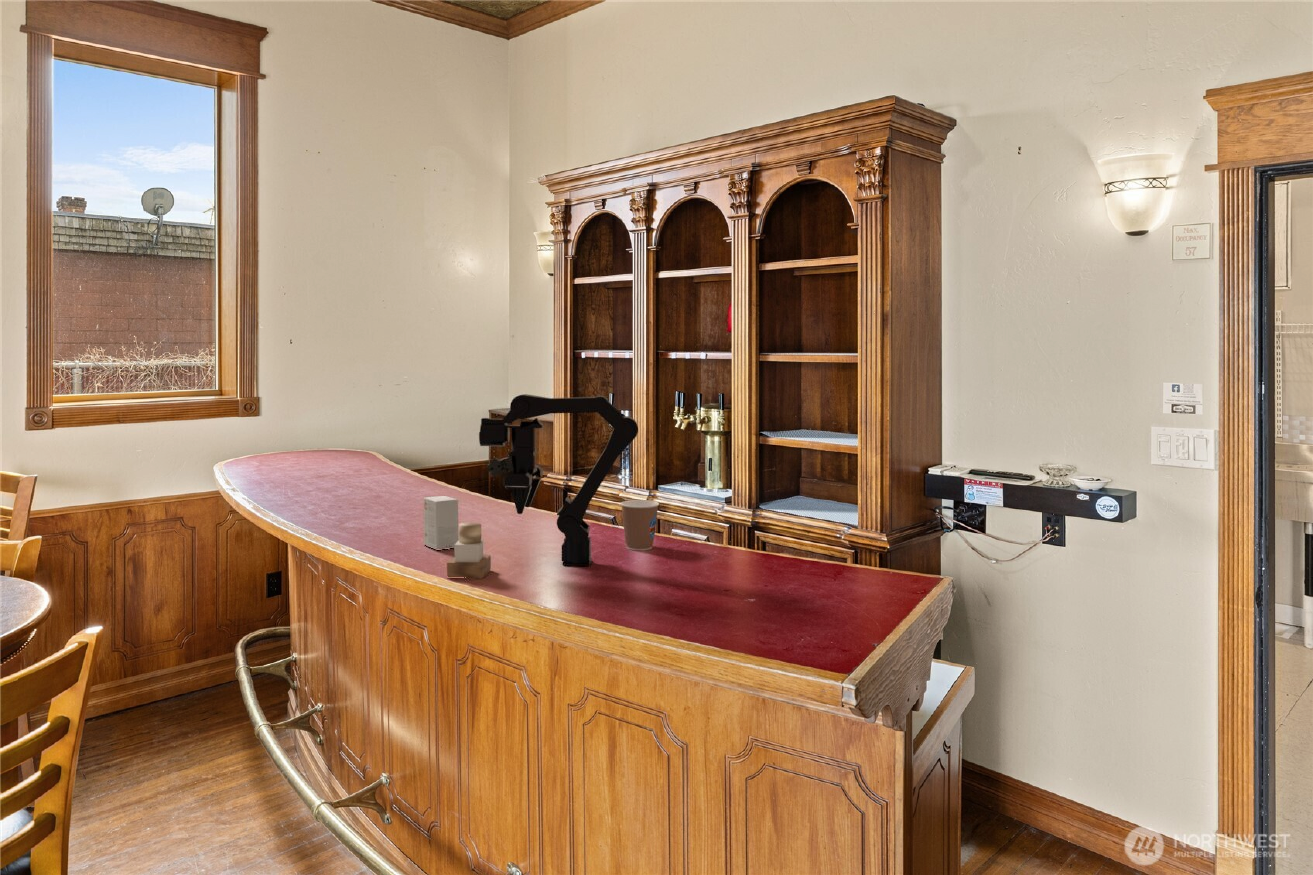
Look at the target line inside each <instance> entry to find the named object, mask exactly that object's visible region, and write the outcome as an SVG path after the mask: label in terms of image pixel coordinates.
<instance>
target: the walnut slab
mask: <svg viewBox="0 0 1313 875" xmlns="http://www.w3.org/2000/svg"><path fill="white" fill-rule="evenodd" d="M491 565H492V557H491V555H490V554H489V555H488V554H486V555H485V554H483V558H482V559H481V560H480V562H455V556H453V557H452V558H451V559H450V560H449V561H447V562H446V577H447V576H448V577H464V578H465V577H466V578H483V577H484V576H485V575H486V574H487V573H488V572H489V571H490V569H491V570H492V568H491ZM490 572H491V571H490ZM490 572H489V573H490ZM489 573H488V574H489ZM488 574H487V575H488ZM487 575H486V576H487ZM486 576H485V577H486ZM485 577H484V578H485ZM484 578H483V579H484Z"/></svg>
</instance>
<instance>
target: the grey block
mask: <svg viewBox="0 0 1313 875" xmlns="http://www.w3.org/2000/svg"><path fill="white" fill-rule="evenodd" d="M453 550H454V557H455V562H480V560H481V559H482V558H483V555H484V539H481V542H480V543H476V544H462V543H459V541H458V542H457V543H456V544H455V545H454V549H453Z"/></svg>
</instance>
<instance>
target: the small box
mask: <svg viewBox="0 0 1313 875" xmlns="http://www.w3.org/2000/svg"><path fill="white" fill-rule="evenodd" d="M458 541H459V499H457V498H454V497H451V496H446V495H440V496H439V495H437V496H428V497H427V496H425V497H423V545H424V544H426V545H427V546H429V547H431V548H434V549H445V548H454V545H455V544H456V543H457V542H458ZM431 548H430V549H431Z"/></svg>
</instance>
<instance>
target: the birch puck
mask: <svg viewBox="0 0 1313 875" xmlns="http://www.w3.org/2000/svg"><path fill="white" fill-rule="evenodd" d="M458 540H459V543H462V544H476V543H480V542H481V540H482V523H481V522H473V521H471V522H462V523H458Z"/></svg>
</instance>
